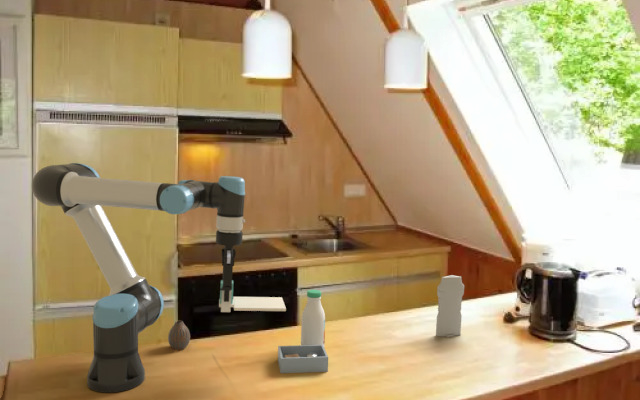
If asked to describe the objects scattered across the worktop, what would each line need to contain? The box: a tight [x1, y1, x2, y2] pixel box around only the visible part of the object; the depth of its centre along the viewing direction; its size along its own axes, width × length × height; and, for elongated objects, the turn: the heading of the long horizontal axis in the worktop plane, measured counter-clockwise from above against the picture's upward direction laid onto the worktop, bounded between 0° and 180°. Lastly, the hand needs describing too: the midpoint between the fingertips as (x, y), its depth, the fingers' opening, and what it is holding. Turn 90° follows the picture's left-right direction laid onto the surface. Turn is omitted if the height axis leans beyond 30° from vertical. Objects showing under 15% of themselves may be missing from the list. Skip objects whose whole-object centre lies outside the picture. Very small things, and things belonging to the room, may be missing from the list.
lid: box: [218, 279, 287, 312], centre depth 167 cm, size 19×11×7 cm, turn 100°
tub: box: [277, 344, 329, 374], centre depth 171 cm, size 14×10×5 cm
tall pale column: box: [435, 274, 465, 338], centre depth 203 cm, size 11×4×22 cm, turn 105°
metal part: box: [307, 353, 317, 357], centre depth 172 cm, size 3×3×3 cm
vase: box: [167, 320, 191, 351], centre depth 184 cm, size 7×7×9 cm
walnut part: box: [284, 354, 300, 358], centre depth 171 cm, size 4×4×3 cm
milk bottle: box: [300, 289, 326, 347], centre depth 184 cm, size 8×8×20 cm
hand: (225, 308), depth 166 cm, fingers closed on lid, 5 cm apart
